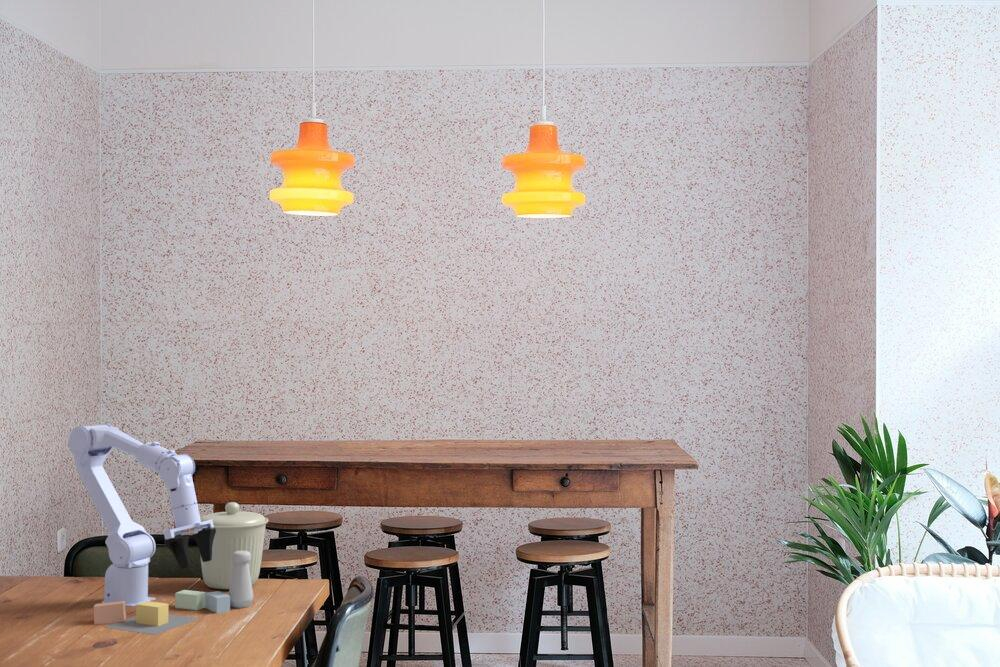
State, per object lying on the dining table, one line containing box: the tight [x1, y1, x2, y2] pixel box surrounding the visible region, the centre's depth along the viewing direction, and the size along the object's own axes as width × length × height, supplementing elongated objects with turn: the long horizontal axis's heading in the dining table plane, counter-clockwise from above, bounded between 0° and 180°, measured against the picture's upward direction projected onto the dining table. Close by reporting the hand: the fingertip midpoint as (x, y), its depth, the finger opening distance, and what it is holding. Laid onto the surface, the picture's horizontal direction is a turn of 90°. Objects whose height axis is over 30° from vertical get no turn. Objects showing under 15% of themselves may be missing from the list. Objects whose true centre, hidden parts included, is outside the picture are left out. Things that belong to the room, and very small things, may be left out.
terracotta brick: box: [93, 601, 127, 625], centre depth 216 cm, size 6×3×4 cm, turn 104°
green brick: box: [174, 589, 207, 611], centre depth 229 cm, size 6×3×4 cm, turn 69°
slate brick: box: [204, 590, 231, 614], centre depth 227 cm, size 6×3×4 cm, turn 41°
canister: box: [197, 501, 269, 591], centre depth 253 cm, size 18×18×21 cm
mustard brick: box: [135, 600, 170, 626], centre depth 215 cm, size 6×3×4 cm, turn 67°
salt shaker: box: [227, 551, 254, 609], centre depth 231 cm, size 6×6×13 cm
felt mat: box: [103, 613, 200, 636], centre depth 215 cm, size 14×14×1 cm
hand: (196, 564), depth 228 cm, fingers open, 7 cm apart
